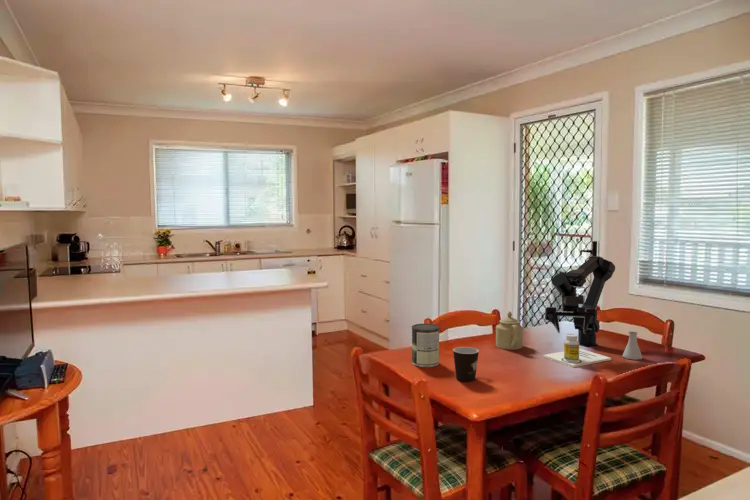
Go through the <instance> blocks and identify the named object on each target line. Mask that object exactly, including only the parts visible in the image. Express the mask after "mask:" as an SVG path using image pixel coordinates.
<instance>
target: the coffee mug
mask: <svg viewBox="0 0 750 500" xmlns="http://www.w3.org/2000/svg"><path fill="white" fill-rule="evenodd" d="M452 351H453V352H452V353H453V361H454V370H455V379H456V380H457V381H458V382H461V383H471V382H475V380H476V375H477V368H478V359H479V353H480V350H479V349H478V348H475V347H470V346H459V347H455V348H453V350H452Z"/></svg>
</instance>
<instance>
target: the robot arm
mask: <svg viewBox="0 0 750 500" xmlns="http://www.w3.org/2000/svg"><path fill="white" fill-rule="evenodd" d="M615 271H616V265H615V264H614V263H613V262H612V261H609V260H607V259H605V258H604V257H602V256H597V255H596V256H595V255H590V256H589V257H588V258H587V260H586V261H584V262H583V263H582V264H581V265H580V266H579V267H577V268H576V269H571V270H569V271H567V272H564V271H559V273H557V274H555V275H554V276H553V277H552V279H551V284H552V286H554V288H555V289H556V291H557V292H558V293H560V295H561V297H560V298H561V309H562V310H557V307H556V306H547V307H545V308H544V309H545V310H544V320H546V321H548V322H549V323H551V324H552V325H553V326H554V328H555V330H556V332H557V333H558V334H560V333H561V332H560V329H561V328H560V323H559V317H568V318H569V317H570V318H573V325H574V329H575V330H578V332H577V333H578V335H577V336H578V337H577V340H578V341H579V346H584V347H588V348H589V347H593V346H598V343H597V335H596V333H598V332H599V331H600V326H601V325H600V324H599V322H598V321H597V319H598V317H597V316H598V312H597V311H598V310H597V306H598V303H599V301H600V298H601V295H602V292H603V290H604V287H605V284H606V282H607V281H609V280H610V279H611V278H612V277H613V274H614V273H615ZM590 274H592V275H593V279H592V281H591V285H590V287H589V289H588V293H587V294H586V298H584V295H583V294H582V295H581V294H579V295H578V293H577V289H576V287H577V288H582V287H583V286H584V285H585V284H586V282H587V279H586V278H587V277H588V276H590ZM584 299H585V301H584ZM579 305H582V306H579Z"/></svg>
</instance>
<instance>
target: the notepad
mask: <svg viewBox="0 0 750 500" xmlns="http://www.w3.org/2000/svg"><path fill="white" fill-rule="evenodd" d="M542 357H543V358H545V359H548V360H551V361H553V362H556V363H559V364H562V365H565V366H568V367H570V368H577V367H582V366H583V367H584V366H587V365H592V364H597V363H601V362H607V361H612V357H609V356H606V355H603V354H599V353H596V352H594V351H593V352H592V351H589V350H586V349H583V348H579V361H577V362H569V361H566V360H564V350H563V351H558V352H552V353H547V354H543V355H542Z"/></svg>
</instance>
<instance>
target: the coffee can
mask: <svg viewBox="0 0 750 500" xmlns="http://www.w3.org/2000/svg"><path fill="white" fill-rule="evenodd" d="M439 332H440V326H439V325H437V324H433V323H416V324H413V325H412V326H411V353H412V354H411V364H412V365H414V366H416V367H419V368H432V367H436V366H438V365H439V364H440V362H439V361H440V357H439V355H440V353H439V352H440V333H439Z"/></svg>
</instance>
